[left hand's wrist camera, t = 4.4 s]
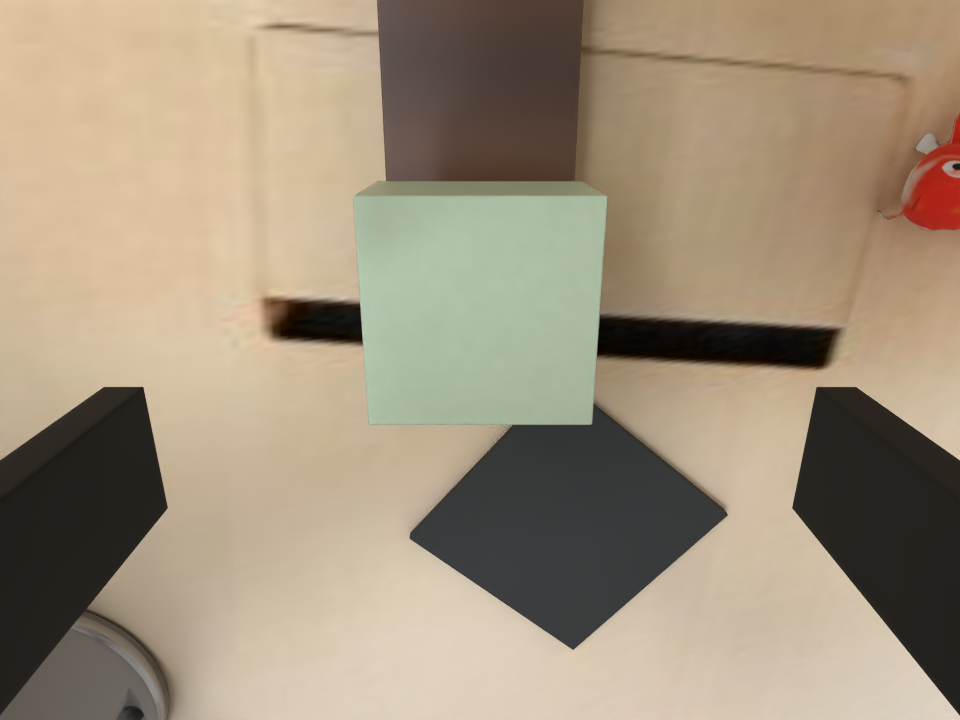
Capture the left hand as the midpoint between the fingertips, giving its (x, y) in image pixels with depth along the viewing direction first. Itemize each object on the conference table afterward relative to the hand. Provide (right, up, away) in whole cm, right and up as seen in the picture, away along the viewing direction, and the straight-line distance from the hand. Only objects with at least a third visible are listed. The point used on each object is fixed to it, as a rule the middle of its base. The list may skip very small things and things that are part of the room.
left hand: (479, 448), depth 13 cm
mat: (+5, -8, +27) cm, 29 cm away
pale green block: (0, +5, +13) cm, 14 cm away
